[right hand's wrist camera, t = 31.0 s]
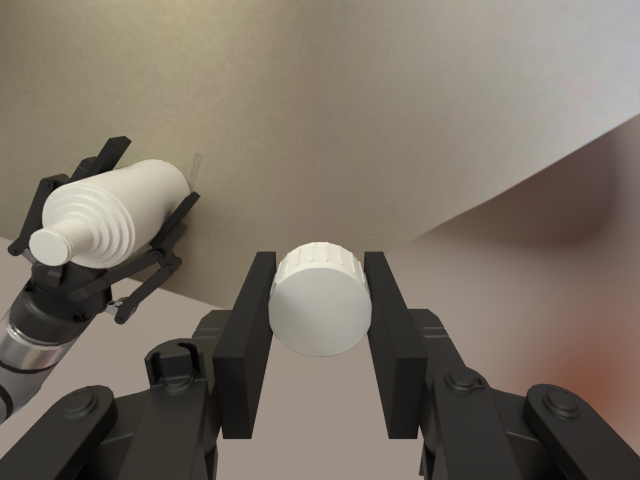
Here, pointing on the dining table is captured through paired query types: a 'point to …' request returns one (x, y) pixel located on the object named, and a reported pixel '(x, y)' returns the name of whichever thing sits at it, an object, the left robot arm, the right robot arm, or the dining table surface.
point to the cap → (320, 300)
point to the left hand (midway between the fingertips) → (157, 169)
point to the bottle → (108, 214)
